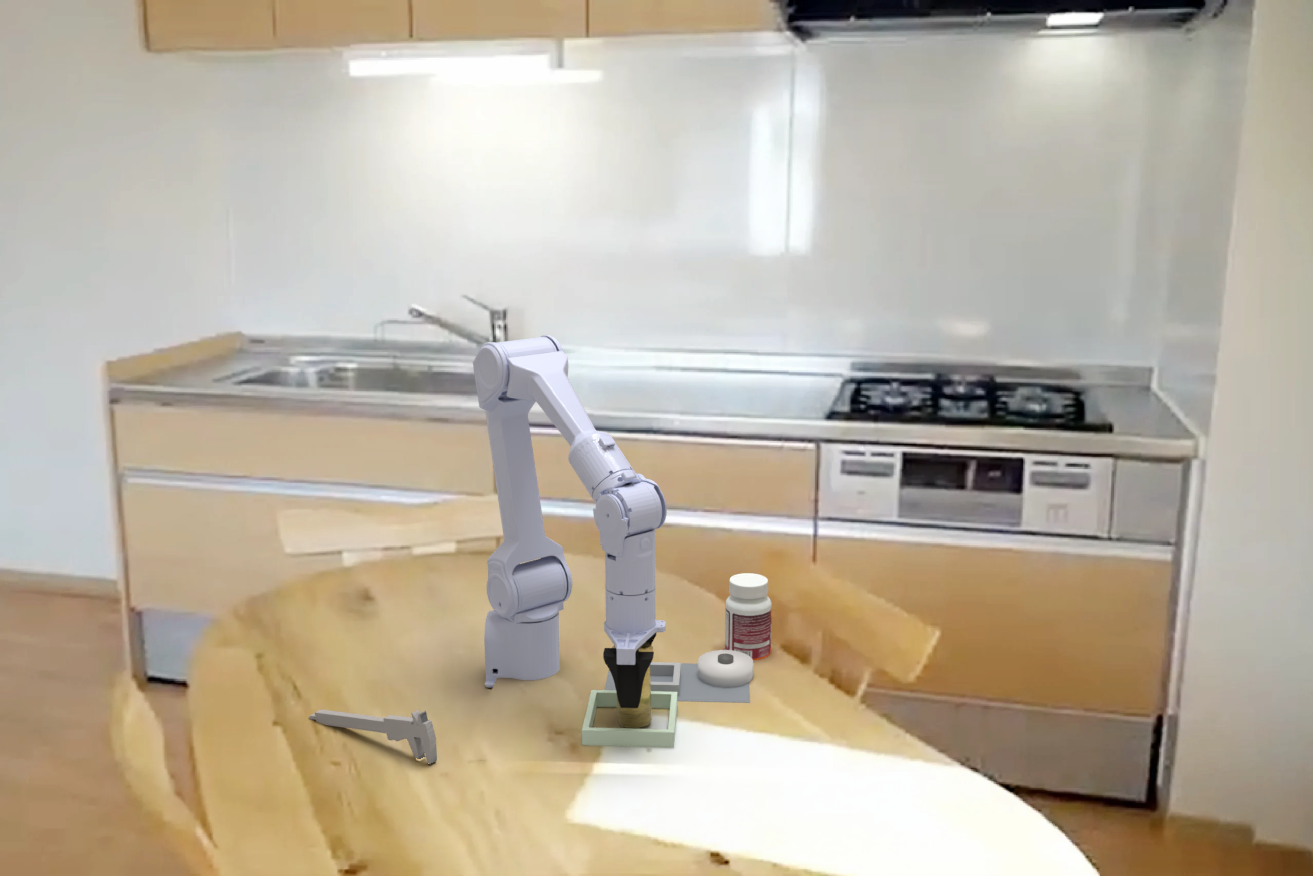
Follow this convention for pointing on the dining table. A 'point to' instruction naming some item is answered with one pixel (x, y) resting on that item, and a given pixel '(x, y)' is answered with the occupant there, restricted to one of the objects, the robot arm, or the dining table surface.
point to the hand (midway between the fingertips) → (631, 697)
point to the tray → (627, 734)
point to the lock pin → (643, 712)
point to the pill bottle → (748, 616)
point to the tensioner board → (697, 688)
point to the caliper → (389, 728)
